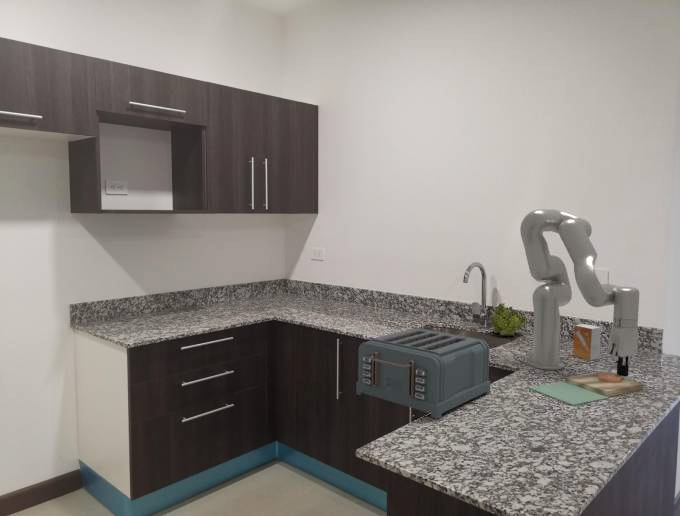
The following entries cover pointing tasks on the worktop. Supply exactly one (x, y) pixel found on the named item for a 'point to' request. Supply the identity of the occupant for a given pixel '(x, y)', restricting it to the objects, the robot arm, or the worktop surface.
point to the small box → (587, 341)
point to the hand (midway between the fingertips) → (622, 375)
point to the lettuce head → (507, 321)
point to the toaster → (424, 369)
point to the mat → (568, 393)
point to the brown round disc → (609, 377)
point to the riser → (604, 384)
